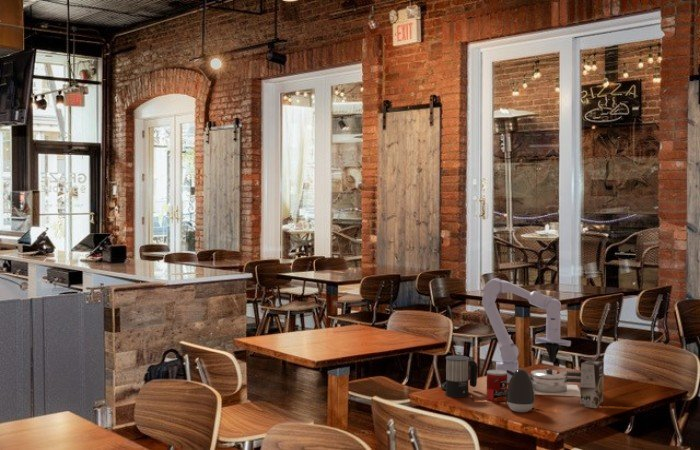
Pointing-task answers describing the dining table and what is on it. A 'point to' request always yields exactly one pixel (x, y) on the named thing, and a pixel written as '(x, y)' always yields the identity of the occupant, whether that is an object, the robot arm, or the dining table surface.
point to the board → (571, 391)
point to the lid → (553, 374)
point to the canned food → (496, 385)
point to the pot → (552, 384)
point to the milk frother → (459, 376)
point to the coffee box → (591, 383)
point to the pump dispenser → (520, 391)
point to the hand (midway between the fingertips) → (552, 361)
